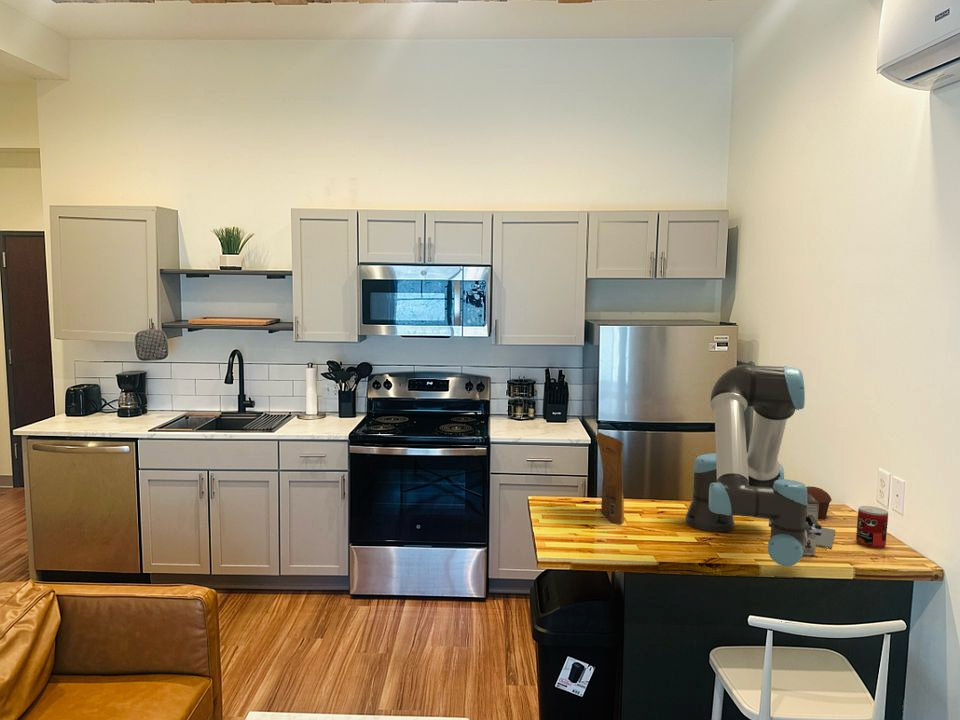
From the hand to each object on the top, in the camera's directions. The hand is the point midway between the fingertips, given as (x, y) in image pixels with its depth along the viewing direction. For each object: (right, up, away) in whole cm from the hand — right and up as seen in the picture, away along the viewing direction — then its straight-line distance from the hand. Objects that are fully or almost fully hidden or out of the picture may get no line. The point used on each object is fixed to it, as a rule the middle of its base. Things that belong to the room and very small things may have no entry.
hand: (800, 510), depth 190 cm
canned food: (+29, -14, +16) cm, 36 cm away
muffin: (+24, -12, +43) cm, 51 cm away
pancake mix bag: (-47, -10, +36) cm, 60 cm away
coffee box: (+4, -14, +10) cm, 18 cm away
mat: (+12, -13, +23) cm, 29 cm away
